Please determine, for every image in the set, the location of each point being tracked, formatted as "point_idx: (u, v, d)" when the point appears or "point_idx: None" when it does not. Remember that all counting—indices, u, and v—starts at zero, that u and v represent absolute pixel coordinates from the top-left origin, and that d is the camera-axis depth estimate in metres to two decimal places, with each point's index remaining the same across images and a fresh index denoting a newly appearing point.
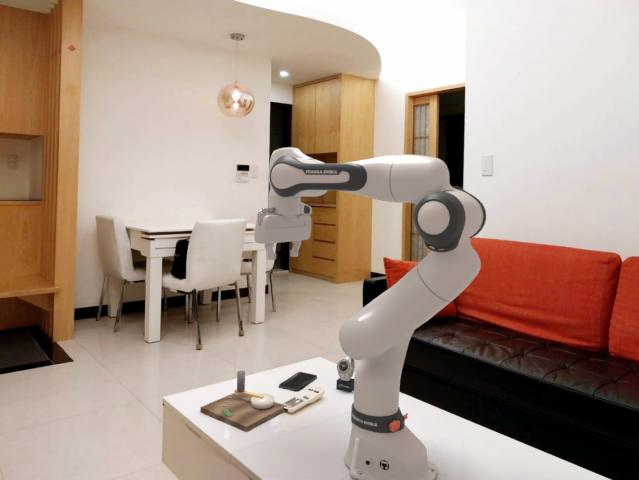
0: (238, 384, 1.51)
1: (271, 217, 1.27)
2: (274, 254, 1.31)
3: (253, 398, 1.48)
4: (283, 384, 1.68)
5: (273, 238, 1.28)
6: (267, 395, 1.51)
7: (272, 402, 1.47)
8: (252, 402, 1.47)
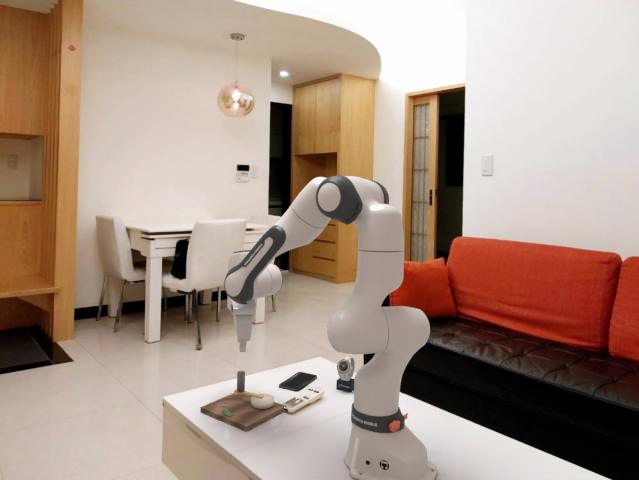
0: (238, 384, 1.51)
1: None
2: None
3: (253, 398, 1.48)
4: (283, 384, 1.68)
5: (234, 322, 1.56)
6: (267, 395, 1.51)
7: (272, 402, 1.47)
8: (252, 402, 1.47)
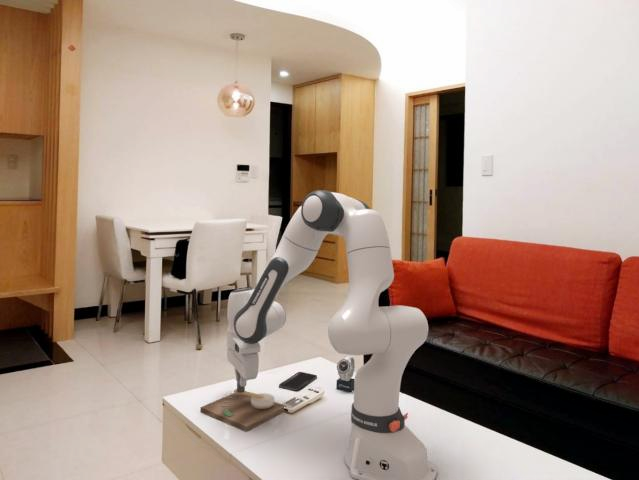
0: (238, 384, 1.51)
1: None
2: (236, 377, 1.53)
3: (253, 398, 1.48)
4: (283, 384, 1.68)
5: (229, 359, 1.56)
6: (267, 395, 1.51)
7: (272, 402, 1.47)
8: (252, 402, 1.47)
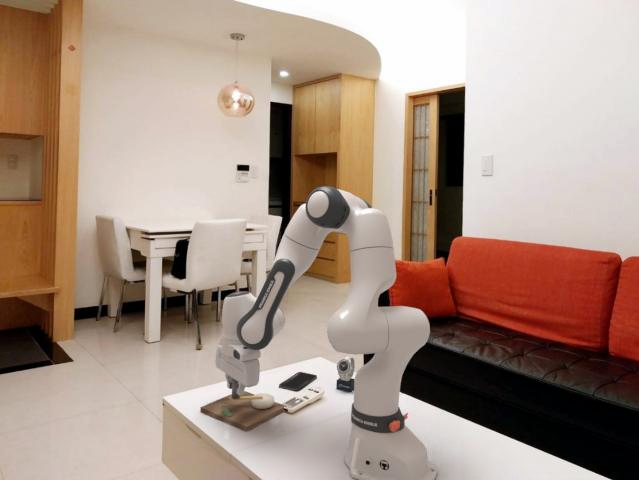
0: (235, 391, 1.46)
1: (219, 348, 1.49)
2: (228, 383, 1.47)
3: (255, 400, 1.47)
4: (283, 384, 1.68)
5: (220, 366, 1.49)
6: (262, 394, 1.51)
7: None
8: (257, 404, 1.45)
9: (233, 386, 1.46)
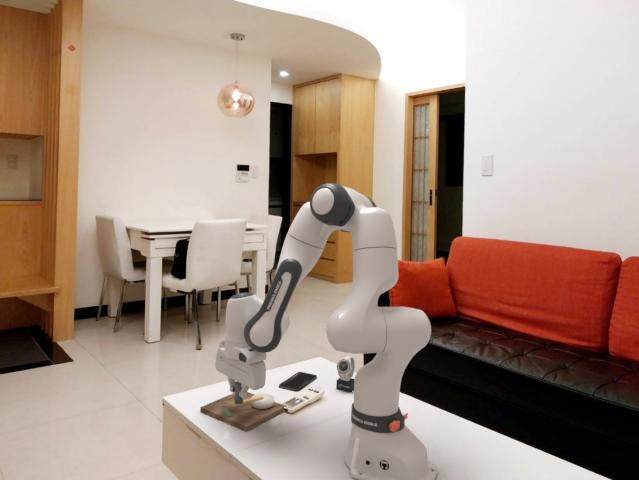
0: None
1: (220, 350, 1.45)
2: (231, 387, 1.44)
3: (258, 401, 1.46)
4: (283, 384, 1.68)
5: (221, 369, 1.45)
6: (258, 394, 1.51)
7: None
8: (262, 404, 1.45)
9: (237, 391, 1.42)
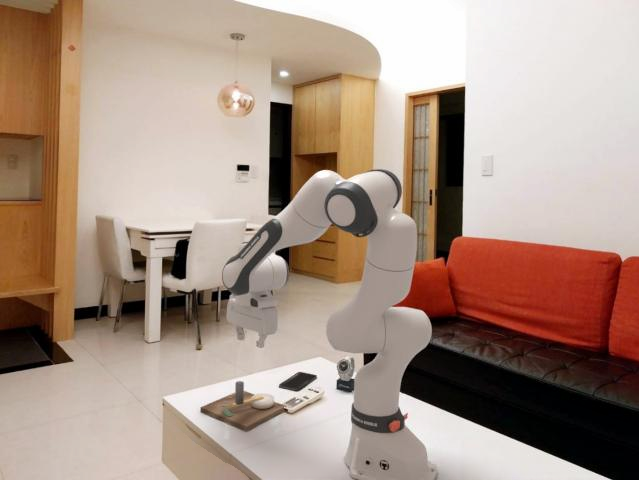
0: (241, 396, 1.42)
1: (231, 301, 1.46)
2: (238, 335, 1.45)
3: (259, 401, 1.46)
4: (283, 384, 1.68)
5: (232, 320, 1.46)
6: (258, 395, 1.51)
7: None
8: (263, 404, 1.45)
9: (238, 391, 1.42)
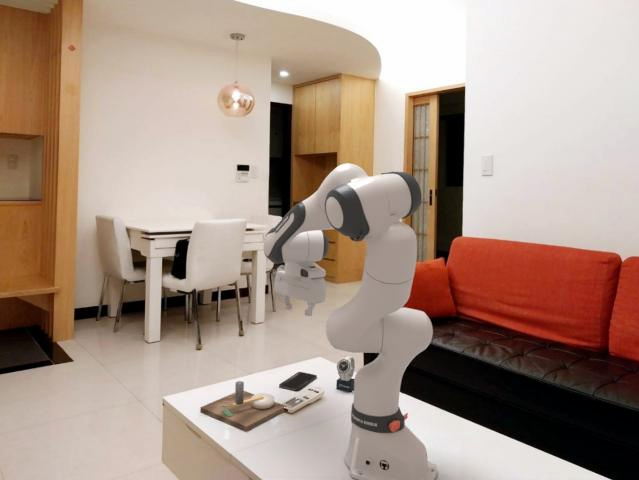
0: (241, 396, 1.42)
1: (279, 273, 1.54)
2: (286, 305, 1.54)
3: (259, 401, 1.46)
4: (283, 384, 1.68)
5: (280, 290, 1.54)
6: (258, 395, 1.51)
7: None
8: (263, 404, 1.45)
9: (238, 391, 1.42)
